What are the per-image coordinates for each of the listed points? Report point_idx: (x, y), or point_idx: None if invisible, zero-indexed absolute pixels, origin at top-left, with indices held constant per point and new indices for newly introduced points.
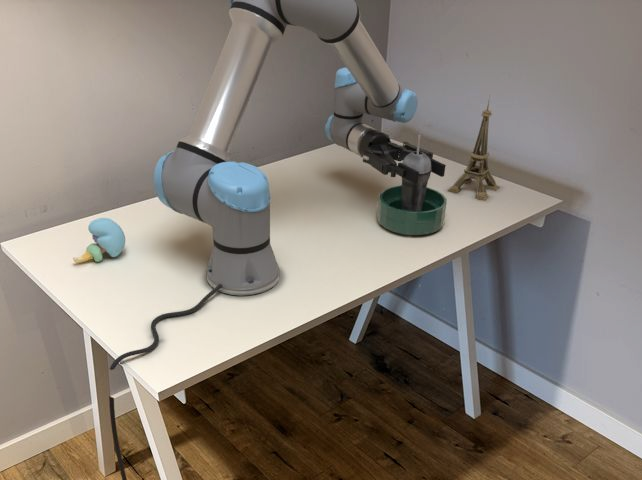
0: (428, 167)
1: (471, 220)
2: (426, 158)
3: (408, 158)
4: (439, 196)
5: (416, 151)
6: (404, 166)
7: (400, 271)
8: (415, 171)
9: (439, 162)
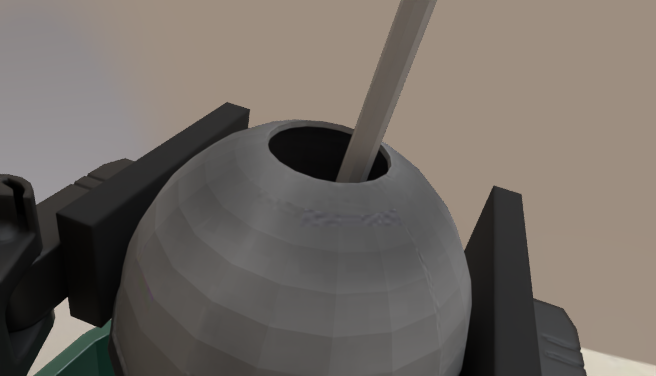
0: (317, 178)
1: (56, 309)
2: (318, 130)
3: (448, 251)
4: (85, 362)
5: (288, 169)
6: (531, 297)
7: (614, 370)
8: (512, 202)
9: (198, 125)
